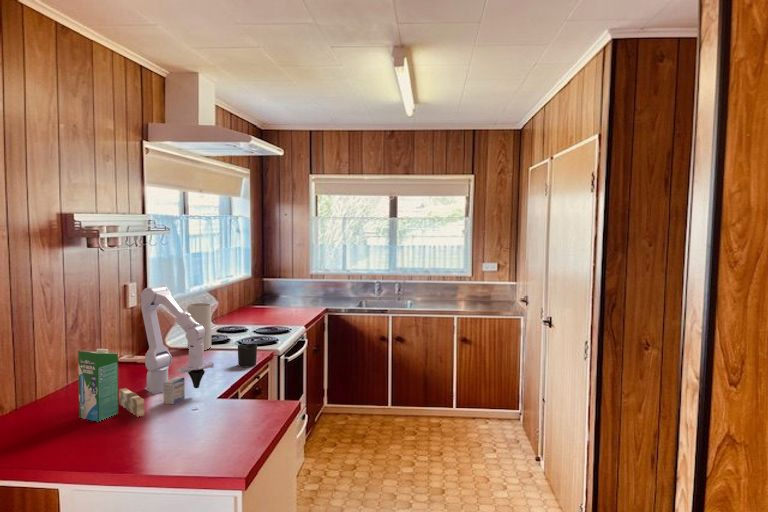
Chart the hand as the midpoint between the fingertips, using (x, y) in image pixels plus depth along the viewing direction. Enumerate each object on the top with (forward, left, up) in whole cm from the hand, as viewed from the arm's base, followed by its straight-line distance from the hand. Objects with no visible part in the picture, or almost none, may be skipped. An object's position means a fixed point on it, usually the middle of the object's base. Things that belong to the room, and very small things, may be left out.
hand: (196, 387), depth 215 cm
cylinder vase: (-73, +38, -4) cm, 82 cm away
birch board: (-1, -25, -3) cm, 26 cm away
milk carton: (-2, -36, -4) cm, 37 cm away
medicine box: (0, -9, -4) cm, 10 cm away
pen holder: (-27, +40, -4) cm, 48 cm away
